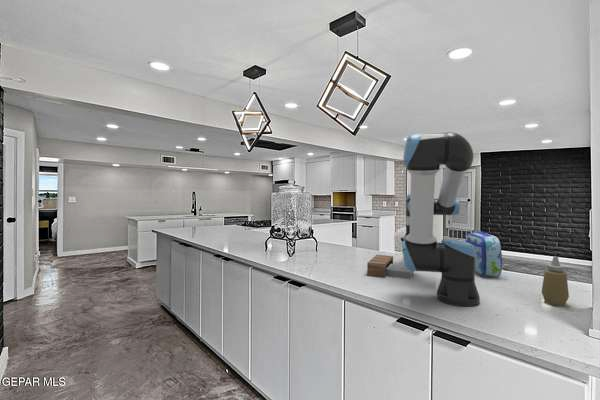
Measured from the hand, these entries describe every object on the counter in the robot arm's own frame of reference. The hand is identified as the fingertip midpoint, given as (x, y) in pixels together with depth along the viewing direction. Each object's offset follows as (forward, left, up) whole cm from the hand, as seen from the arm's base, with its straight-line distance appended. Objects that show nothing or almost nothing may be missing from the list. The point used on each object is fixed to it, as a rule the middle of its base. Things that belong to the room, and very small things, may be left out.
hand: (413, 271), depth 160 cm
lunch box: (+21, -32, -2) cm, 38 cm away
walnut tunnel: (0, +16, -2) cm, 17 cm away
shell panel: (0, +7, -2) cm, 7 cm away
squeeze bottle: (-20, -53, -2) cm, 56 cm away
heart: (+26, +2, -2) cm, 26 cm away
